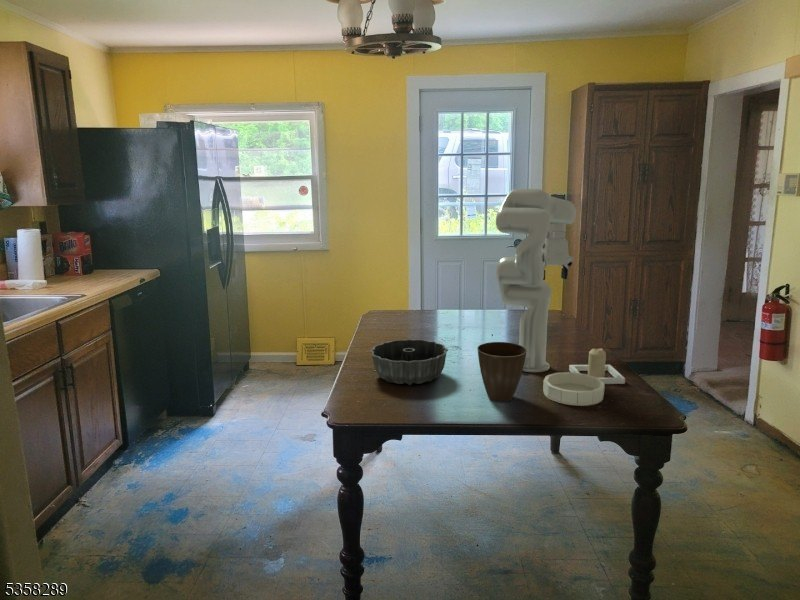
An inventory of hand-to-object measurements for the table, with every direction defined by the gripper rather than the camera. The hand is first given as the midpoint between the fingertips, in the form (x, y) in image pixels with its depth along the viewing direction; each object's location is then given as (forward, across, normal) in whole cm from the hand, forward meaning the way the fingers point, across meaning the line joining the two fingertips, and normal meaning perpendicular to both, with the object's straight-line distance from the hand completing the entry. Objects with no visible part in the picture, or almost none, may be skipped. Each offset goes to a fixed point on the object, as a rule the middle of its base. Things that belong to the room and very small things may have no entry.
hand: (553, 279), depth 231 cm
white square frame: (+28, -4, -37) cm, 47 cm away
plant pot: (+29, -43, -45) cm, 69 cm away
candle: (+28, -4, -37) cm, 47 cm away
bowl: (+29, -20, -50) cm, 61 cm away
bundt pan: (+29, -65, -18) cm, 73 cm away
